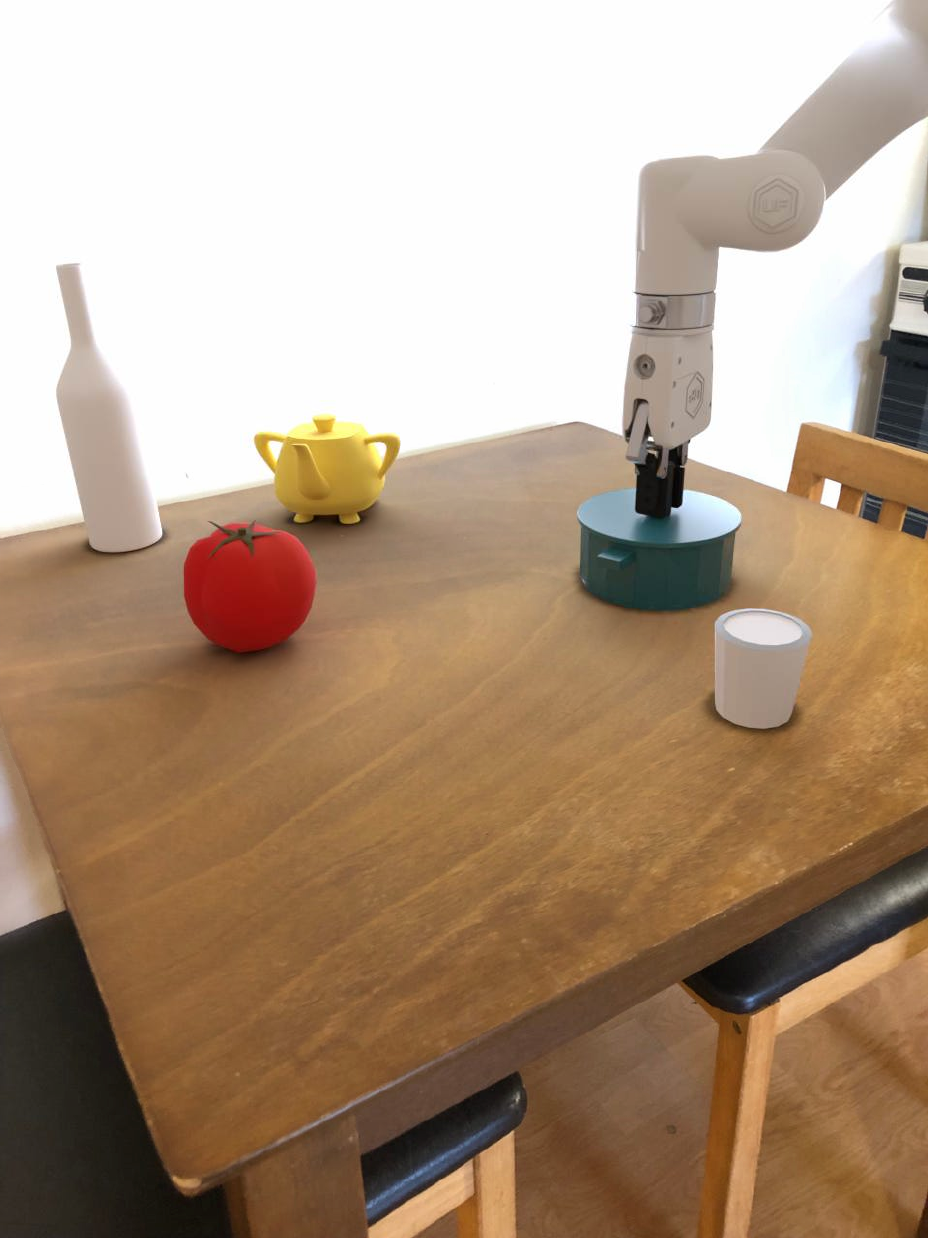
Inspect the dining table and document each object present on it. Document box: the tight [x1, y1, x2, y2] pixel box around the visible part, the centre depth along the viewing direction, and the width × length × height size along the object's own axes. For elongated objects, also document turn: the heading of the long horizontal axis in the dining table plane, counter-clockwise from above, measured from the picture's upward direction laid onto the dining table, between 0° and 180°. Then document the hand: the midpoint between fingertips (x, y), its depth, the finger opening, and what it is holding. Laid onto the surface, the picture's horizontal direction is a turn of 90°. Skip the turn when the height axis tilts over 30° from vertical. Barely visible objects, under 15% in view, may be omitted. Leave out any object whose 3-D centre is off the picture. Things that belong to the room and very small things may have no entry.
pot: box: [579, 525, 736, 612], centre depth 92 cm, size 15×20×6 cm
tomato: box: [183, 519, 317, 654], centre depth 82 cm, size 12×12×11 cm
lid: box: [576, 461, 743, 548], centre depth 89 cm, size 16×16×6 cm
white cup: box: [714, 607, 813, 730], centre depth 70 cm, size 7×7×7 cm
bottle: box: [55, 262, 163, 553], centre depth 101 cm, size 8×8×30 cm
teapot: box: [253, 413, 401, 525], centre depth 112 cm, size 14×14×12 cm
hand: (658, 508), depth 90 cm, fingers closed on lid, 2 cm apart
